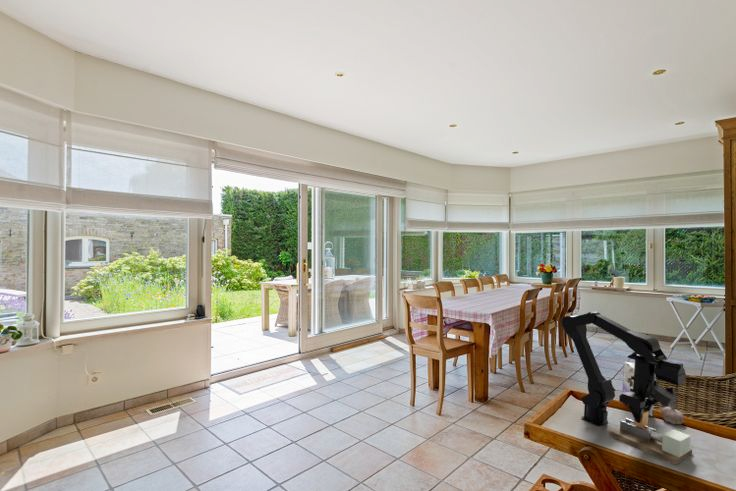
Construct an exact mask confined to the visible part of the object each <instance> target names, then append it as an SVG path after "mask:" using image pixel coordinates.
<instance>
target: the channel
mask: <svg viewBox="0 0 736 491" xmlns="http://www.w3.org/2000/svg"><path fill="white" fill-rule="evenodd" d="M630 423H634V420H632V419H629V418H628V417H625V421H623V420H620V421H619V426H620V430H622V431H624V432H626V433H629V434H631V435H633V436H636V437H638V438H640V439H643V440H645V441H647V442H652V441H654V440H653V439H651V432H648V431H646V430H643V429H641V428H639V427H636V426H634V425H631V424H630ZM645 428H646V429H649V430H651V431H654V432H656V433H657V430H656V428H652V427H649V426H648V425H647V426H645Z"/></svg>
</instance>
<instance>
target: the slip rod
mask: <svg viewBox="0 0 736 491" xmlns="http://www.w3.org/2000/svg"><path fill="white" fill-rule="evenodd" d="M648 414H649V411H647V410H645V409H643V413H642V417H641V421H640V423H638V422H636V421H635V419H634V418H633V421H634V423H630V424H631V425H634V426H636V427H639V428H641V429H643V430H646V431H648V432H651V439H653V440H656V441H658V442H660V443H663V434H661V433H658V432H657V431H656V432H654V431H651V430H649V429H646V428H645V426H647V427H648V425H649V416H648Z"/></svg>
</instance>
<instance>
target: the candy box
mask: <svg viewBox="0 0 736 491" xmlns="http://www.w3.org/2000/svg"><path fill="white" fill-rule="evenodd" d="M634 365H635V362H633V361H632V362H631V361H630V362H629V361H624V362H623V373H622V374H623V377H622V393H621V394H623V393H626V392H630V393H633V394H634V392H631V391H630V388H632V387H633V380H632V379H631V376H633V375H634ZM655 379H657V377H656V375H655ZM654 406H655V404H654V405H653V406H652V408H651V410H650V413H649V415H648V417H654V412H655V411H654V409H655V407H654Z"/></svg>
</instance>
